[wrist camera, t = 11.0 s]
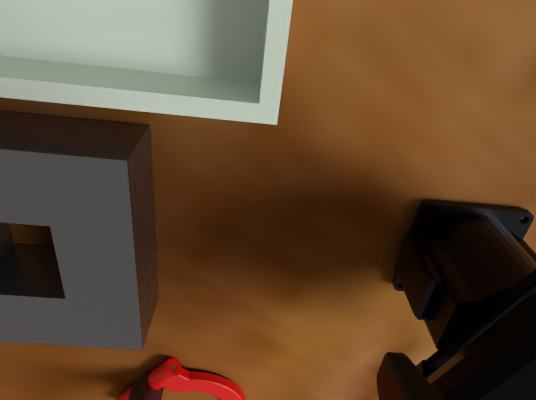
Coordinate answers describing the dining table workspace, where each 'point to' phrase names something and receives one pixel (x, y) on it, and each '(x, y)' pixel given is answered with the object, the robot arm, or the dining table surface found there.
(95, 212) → the hitch block
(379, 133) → the dining table surface
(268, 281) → the dining table surface
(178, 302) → the dining table surface
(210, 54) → the tray
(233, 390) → the tow hook
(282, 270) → the dining table surface
